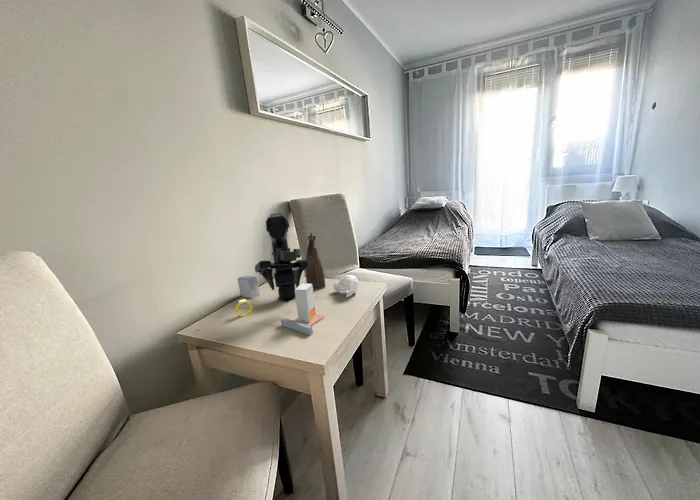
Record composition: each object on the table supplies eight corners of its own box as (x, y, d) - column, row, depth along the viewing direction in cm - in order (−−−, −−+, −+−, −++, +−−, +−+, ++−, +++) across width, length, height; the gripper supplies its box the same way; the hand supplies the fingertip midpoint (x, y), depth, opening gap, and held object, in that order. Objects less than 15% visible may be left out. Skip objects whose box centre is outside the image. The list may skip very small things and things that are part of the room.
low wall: (284, 323, 101) (283, 317, 100) (312, 333, 92) (311, 326, 92) (281, 325, 100) (280, 318, 99) (310, 335, 91) (309, 328, 91)
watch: (239, 319, 108) (235, 305, 107) (236, 317, 110) (232, 303, 109) (254, 312, 112) (250, 298, 111) (251, 310, 114) (247, 296, 113)
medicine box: (260, 294, 130) (256, 276, 128) (252, 298, 127) (248, 279, 125) (248, 292, 135) (245, 274, 133) (240, 296, 131) (237, 278, 129)
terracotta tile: (308, 313, 107) (307, 312, 107) (324, 318, 102) (324, 316, 102) (291, 322, 101) (291, 321, 101) (307, 328, 96) (307, 326, 96)
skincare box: (310, 323, 98) (305, 289, 95) (298, 322, 99) (293, 289, 96) (316, 314, 104) (312, 283, 101) (305, 314, 105) (301, 283, 102)
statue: (325, 282, 138) (318, 231, 131) (325, 288, 131) (318, 234, 124) (307, 284, 137) (299, 233, 130) (306, 291, 130) (298, 237, 123)
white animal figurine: (348, 278, 114) (327, 276, 122) (352, 298, 116) (331, 295, 124) (358, 273, 119) (337, 272, 127) (362, 293, 120) (340, 290, 128)
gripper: (262, 239, 96) (267, 286, 92) (312, 240, 107) (319, 281, 103) (252, 250, 105) (257, 293, 101) (299, 250, 116) (305, 288, 112)
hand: (285, 288), depth 104 cm, fingers open, 9 cm apart
